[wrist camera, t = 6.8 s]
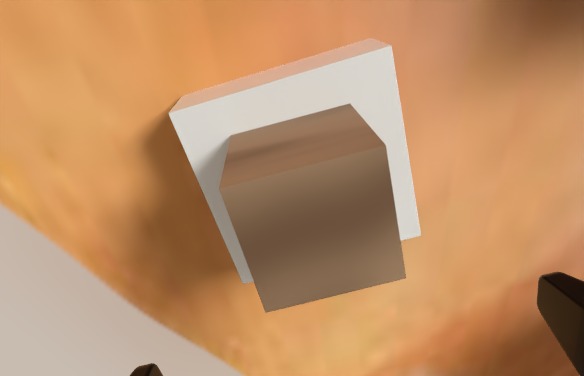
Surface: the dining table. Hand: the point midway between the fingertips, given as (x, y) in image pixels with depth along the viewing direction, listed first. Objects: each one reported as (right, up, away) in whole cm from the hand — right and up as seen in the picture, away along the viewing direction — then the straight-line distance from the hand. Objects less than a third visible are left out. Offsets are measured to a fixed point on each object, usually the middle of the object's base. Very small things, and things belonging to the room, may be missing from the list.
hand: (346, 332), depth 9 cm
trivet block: (-1, +5, +11) cm, 12 cm away
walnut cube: (-1, +4, +8) cm, 9 cm away
